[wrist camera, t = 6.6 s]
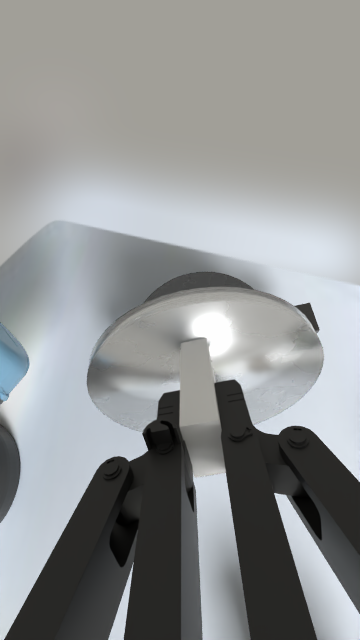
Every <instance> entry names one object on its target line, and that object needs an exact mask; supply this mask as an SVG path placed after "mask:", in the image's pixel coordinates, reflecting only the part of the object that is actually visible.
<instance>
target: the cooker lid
mask: <svg viewBox="0 0 360 640" xmlns="http://www.w3.org/2000/svg"><path fill="white" fill-rule="evenodd" d="M204 338H206V339H207V344H208V348H209V353H210V357H211V362H212V366H213V371H214V375H215V380H216V382H222V381H227V380H232V379H235V380H236V381H237V382H238V383H239V384H240V385H241V388H242V391H243V394H244V398H245V401H246V405H247V408H248V411H249V415H250V418H251V422H252V424H253V425H255V424H258V423H260V422H263V421H265V420H267V419H269V418H272V417H274V416H276V415H278V414H279V413H281V412H283V411H285V410H286V409H288V408H289V407H291V406H292V405H294V404H295V403H296V402H297V401H299V400H300V399H301V398H302V397H303V396H304V395H305V394H306V393H307V392H308V391H309V390H310V389H311V388H312V386H313V385H314V384H315V382H316V381H317V379H318V377H319V375H320V373H321V370H322V367H323V360H324V354H323V347H322V345H321V342H320V340H319V338H318V336H317V334H316V332H315V330H314V328H313V326H312V325H311V323H310V322H309V320H308V319H307V318H306V316H305V315H304V314H303V313H302V312H301V311H300V310H299V309H297V308H296V307H295V306H293V305H292V304H290V303H288V302H287V301H285V300H283V299H281V298H278V297H276V296H274V295H271V294H268V293H264V292H261V291H257V290H252V289H245V288H238V287H207V288H196V289H190V290H184V291H179V292H176V293H172V294H168V295H165V296H161V297H159V298H156V299H154V300H151V301H148V302H146V303H144V304H142V305H140V306H138V307H136V308H134V309H132V310H130V311H129V312H127V313H126V314H124V315H123V316H121V317H120V318H119V319H117V320H116V321H115V322H114V323H113V324H111V325H110V326H109V327H108V328H107V329H106V330H105V331H104V333H103V334H102V335H101V336H100V338H99V339H98V341H97V342H96V344H95V346H94V348H93V350H92V354H91V357H90V361H89V368H88V374H87V387H88V393H89V395H90V397H91V399H92V401H93V403H94V404H95V405H96V407H97V408H98V409H99V410H100V411H101V412H102V413H103V414H104V415H106V416H107V417H108V418H110V419H111V420H113V421H115V422H117V423H118V424H120V425H123V426H125V427H128V428H130V429H133V430H136V431H140V432H143V431H144V429H145V427H146V426H147V425H148V424H149V423H151V422H153V421H154V420H157V412H158V403H159V400H160V398H161V396H162V395H163V393H167V392H172V391H177V390H180V351H181V343H184V342H189V341H194V340H199V339H204Z"/></svg>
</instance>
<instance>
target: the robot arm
mask: <svg viewBox="0 0 360 640" xmlns="http://www.w3.org/2000/svg"><path fill="white" fill-rule="evenodd" d="M28 368H29V358H28V355H27V353H26V351H25V349H24V348H23V346H22V345H21V344H20V342H19V341H18V340H17V339H16V338H15V337H14V336H13V334H12V333H11V332H10V331H9V330H8V329H7V328H6V327H5V326H4V325H3V324H2V323H1V322H0V405H1V404H2V403H3V401H6V400H7V399H8V397H9V393H10V392H11V391H12V390H13V389H14V388H15V386H16V385H17V384H18V383H19V382H20V381H21V379H22V378H23V377H24V376H25V374H26V373H27V371H28ZM142 434H143V437H144V440H145V442H146V445H147V448H148V451H147V452H146V453H145V454H144V455H142V456H140V457H138V458H136V459H134V460H132V461H128V460H127V459H126V458H124V457H120V456H118V457H113V458H110V459H108V460H106V461H105V462H104V463H102V464H101V465H100V467H99V468H98V469H97V471H96V473H95V475H94V476H93V478H92V480H91V482H90V484H89V486H88V487H87V489H86V491H85V493H84V495H83V497H82V498H81V500H80V502H79V504H78V506H77V507H76V509H75V511H74V513H73V515H72V517H71V518H70V520H69V522H68V524H67V526H66V528H65V529H64V531H63V533H62V535H61V537H60V539H59V540H58V542H57V544H56V546H55V548H54V550H53V551H52V553H51V555H50V557H49V559H48V561H47V562H46V564H45V566H44V568H43V570H42V571H41V573H40V575H39V577H38V579H37V581H36V582H35V584H34V586H33V588H32V590H31V592H30V593H29V595H28V597H27V599H26V601H25V603H24V604H23V606H22V608H21V610H20V612H19V614H18V615H17V617H16V619H15V621H14V623H13V624H12V626H11V628H10V630H9V632H8V634H7V635H6V637H5V639H4V640H108V638H109V635H110V632H111V629H112V626H113V623H114V620H115V617H116V614H117V610H118V607H119V604H120V601H121V598H122V595H123V592H124V589H125V586H126V583H127V580H128V577H129V574H130V571H131V568H132V565H133V572H132V580H131V587H130V595H129V603H128V611H127V618H126V626H125V634H124V640H203V639H202V617H201V595H200V573H199V551H198V529H197V507H196V490H195V486H194V482H193V473H194V477H195V478H196V477H202V476H209V475H215V474H221V473H226V476H227V483H228V489H229V496H230V503H231V509H232V516H233V523H234V530H235V536H236V543H237V550H238V556H239V563H240V570H241V577H242V583H243V590H244V597H245V603H246V610H247V617H248V624H249V630H250V637H251V640H317V637H316V634H315V630H314V627H313V624H312V620H311V617H310V614H309V610H308V607H307V603H306V600H305V597H304V593H303V590H302V586H301V583H300V580H299V576H298V573H297V570H296V566H295V563H294V559H293V556H292V553H291V549H290V546H289V542H288V539H287V536H286V532H285V529H284V526H283V522H282V519H281V515H280V512H279V509H278V505H277V502H276V498H275V495H274V493H278V494H284V495H287V498H288V499H289V501H290V502H291V504H292V506H293V507H294V509H295V510H296V512H297V514H298V515H299V517H300V518H301V520H302V522H303V523H304V525H305V527H306V528H307V530H308V531H309V533H310V535H311V536H312V538H313V539H314V541H315V543H316V544H317V546H318V547H319V549H320V551H321V552H322V554H323V555H324V557H325V559H326V560H327V562H328V564H329V565H330V567H331V568H332V570H333V572H334V573H335V575H336V576H337V578H338V580H339V581H340V583H341V584H342V586H343V588H344V589H345V591H346V592H347V594H348V596H349V597H350V599H351V601H352V602H353V604H354V605H355V607H356V609H357V610H358V612H359V613H360V482H359V481H358V480H357V479H356V478H355V477H354V476H353V474H352V473H351V472H350V471H349V470H348V469H347V468H346V467H345V466H344V465H343V464H342V462H341V461H340V460H339V459H338V458H337V457H336V456H335V455H334V454H333V453H332V452H331V451H330V449H329V448H328V447H327V446H326V445H325V444H324V443H323V442H322V441H321V440H320V439H319V437H318V436H317V435H316V434H315V433H314V432H312V431H311V430H310V429H308V428H305V427H302V426H291V427H287V428H285V429H283V430H282V431H281V432H280V434H279V435H273V434H267V433H263V432H261V431H259V430H258V429H256V428H255V427H254V426H253V424H252V422H251V418H250V415H249V411H248V408H247V405H246V401H245V398H244V394H243V391H242V388H241V385H240V384H239V383H238V382H237V381H236V380H235V379H232V380H227V381H222V382H216V380H215V375H214V371H213V366H212V362H211V357H210V353H209V348H208V344H207V339H206V338H204V339H199V340H194V341H189V342H184V343H181V351H180V390H177V391H172V392H167V393H163V395H162V396H161V398H160V400H159V403H158V412H157V420H154V421H153V422H151V423H149V424H148V425H147V426H146V427H145V429H144V431H143V433H142ZM19 476H20V460H19V454H18V450H17V447H16V444H15V442H14V440H13V438H12V436H11V435H10V433H9V432H8V431H7V430H6V429H5V428H4V427H3V426H1V425H0V523H1V521H2V520H3V519H4V517H5V516H6V514H7V512H8V510H9V509H10V507H11V505H12V502H13V500H14V497H15V494H16V491H17V487H18V483H19ZM133 562H134V564H133Z"/></svg>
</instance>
